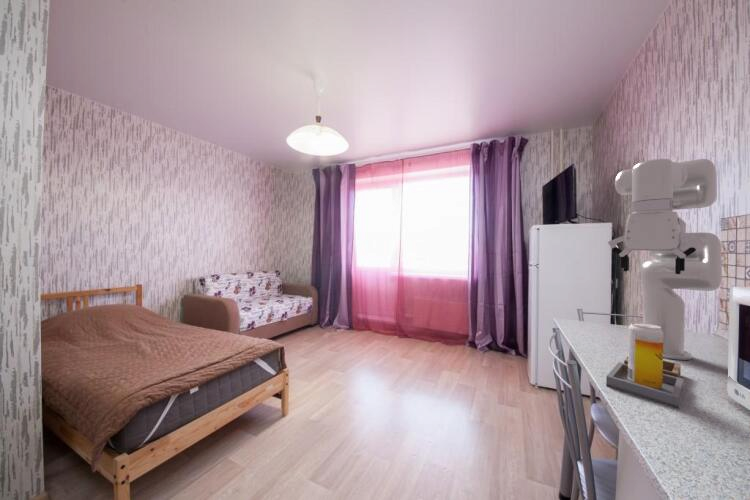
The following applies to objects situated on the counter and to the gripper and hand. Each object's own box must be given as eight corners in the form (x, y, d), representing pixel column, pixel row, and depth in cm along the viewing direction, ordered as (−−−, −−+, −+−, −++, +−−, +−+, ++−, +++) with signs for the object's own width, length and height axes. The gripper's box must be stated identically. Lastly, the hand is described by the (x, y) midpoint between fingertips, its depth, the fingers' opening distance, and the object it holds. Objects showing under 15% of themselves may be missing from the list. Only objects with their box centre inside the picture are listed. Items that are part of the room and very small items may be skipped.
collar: (630, 362, 81) (631, 352, 81) (680, 375, 74) (680, 364, 74) (624, 371, 75) (624, 360, 75) (677, 385, 67) (677, 374, 67)
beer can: (669, 392, 63) (671, 329, 63) (639, 389, 64) (640, 327, 64) (649, 380, 69) (650, 322, 69) (621, 377, 70) (622, 321, 70)
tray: (618, 371, 76) (618, 362, 75) (683, 388, 66) (683, 378, 66) (606, 386, 67) (606, 376, 67) (678, 409, 57) (678, 397, 57)
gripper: (703, 205, 66) (702, 273, 67) (611, 212, 80) (611, 268, 80) (702, 202, 61) (701, 276, 62) (605, 210, 75) (605, 271, 76)
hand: (650, 272), depth 71 cm, fingers open, 9 cm apart
